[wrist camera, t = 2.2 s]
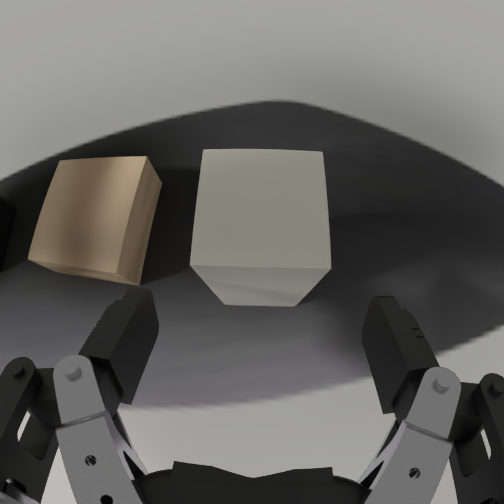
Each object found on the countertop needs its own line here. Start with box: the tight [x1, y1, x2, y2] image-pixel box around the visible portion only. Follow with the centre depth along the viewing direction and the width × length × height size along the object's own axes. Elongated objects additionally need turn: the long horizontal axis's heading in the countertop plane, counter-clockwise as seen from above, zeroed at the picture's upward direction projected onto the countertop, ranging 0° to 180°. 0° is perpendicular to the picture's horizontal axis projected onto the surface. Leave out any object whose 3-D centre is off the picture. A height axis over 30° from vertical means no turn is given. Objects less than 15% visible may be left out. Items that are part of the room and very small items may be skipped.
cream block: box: [190, 149, 331, 306], centre depth 15 cm, size 4×4×10 cm
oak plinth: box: [28, 156, 162, 286], centre depth 19 cm, size 8×8×4 cm
